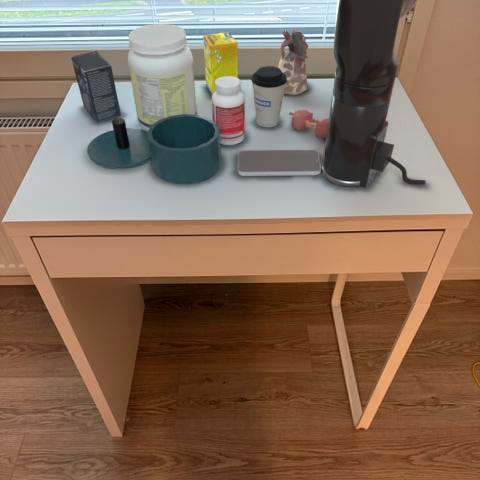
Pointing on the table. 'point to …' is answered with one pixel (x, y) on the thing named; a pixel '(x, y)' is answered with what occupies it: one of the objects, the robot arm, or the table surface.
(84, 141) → the table surface
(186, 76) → the supplement tub
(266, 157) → the smartphone
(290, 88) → the figurine
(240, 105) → the pill bottle
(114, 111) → the box
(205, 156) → the tin
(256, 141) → the table surface
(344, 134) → the robot arm
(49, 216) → the table surface
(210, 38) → the supplement box
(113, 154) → the lid
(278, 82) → the coffee cup
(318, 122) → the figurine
